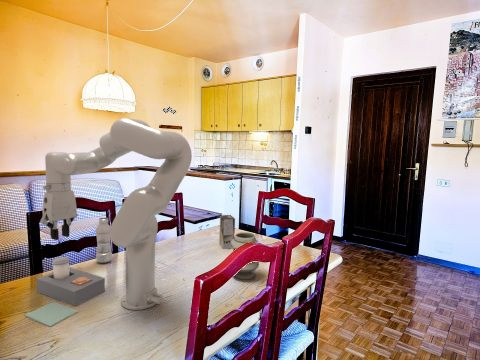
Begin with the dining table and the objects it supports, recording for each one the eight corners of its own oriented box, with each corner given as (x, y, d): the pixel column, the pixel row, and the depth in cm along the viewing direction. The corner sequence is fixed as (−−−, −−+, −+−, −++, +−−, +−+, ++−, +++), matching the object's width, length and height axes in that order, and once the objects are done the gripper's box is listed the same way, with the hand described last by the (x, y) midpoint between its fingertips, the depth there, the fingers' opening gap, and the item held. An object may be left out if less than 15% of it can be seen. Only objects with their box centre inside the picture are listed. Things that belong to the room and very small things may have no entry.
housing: (104, 291, 112) (104, 277, 112) (74, 306, 101) (74, 291, 101) (68, 278, 120) (67, 266, 120) (36, 291, 110) (36, 278, 109)
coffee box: (234, 248, 163) (235, 218, 161) (222, 249, 161) (223, 219, 159) (229, 242, 172) (230, 214, 170) (218, 243, 170) (219, 215, 168)
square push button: (91, 292, 110) (90, 277, 109) (80, 298, 106) (80, 282, 105) (82, 290, 111) (82, 275, 111) (72, 295, 108) (71, 279, 107)
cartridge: (73, 286, 114) (72, 258, 113) (60, 292, 110) (58, 263, 108) (64, 283, 116) (63, 255, 115) (50, 289, 112) (49, 260, 110)
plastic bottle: (106, 265, 135) (105, 220, 132) (92, 263, 136) (91, 219, 134) (115, 260, 141) (114, 217, 138) (102, 258, 142) (101, 216, 140)
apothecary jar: (224, 272, 132) (226, 232, 130) (249, 268, 137) (251, 229, 135) (237, 284, 121) (239, 240, 119) (263, 279, 127) (265, 237, 124)
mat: (77, 312, 98) (77, 311, 98) (50, 327, 90) (50, 325, 90) (53, 302, 103) (53, 301, 103) (24, 316, 95) (24, 314, 95)
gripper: (42, 191, 99) (44, 246, 102) (86, 185, 114) (87, 233, 117) (27, 189, 103) (30, 242, 105) (73, 184, 117) (74, 230, 120)
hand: (60, 237), depth 111 cm, fingers open, 3 cm apart
